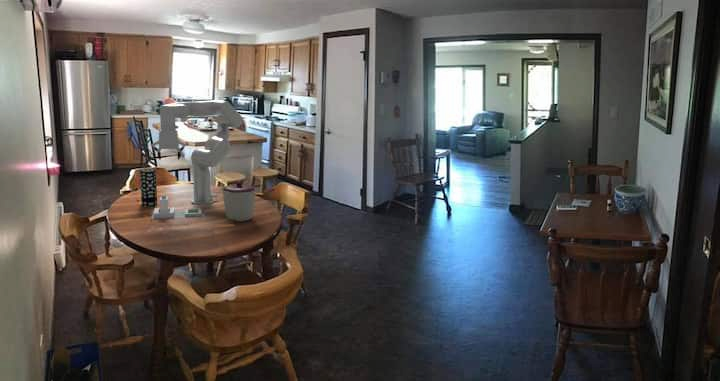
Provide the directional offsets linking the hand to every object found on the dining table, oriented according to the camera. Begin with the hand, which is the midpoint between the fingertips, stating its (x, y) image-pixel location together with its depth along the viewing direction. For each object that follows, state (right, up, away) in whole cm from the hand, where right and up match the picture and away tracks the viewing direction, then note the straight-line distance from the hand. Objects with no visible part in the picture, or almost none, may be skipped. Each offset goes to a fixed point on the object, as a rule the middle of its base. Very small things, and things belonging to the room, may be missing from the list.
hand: (169, 159), depth 290 cm
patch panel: (+8, -31, -8) cm, 33 cm away
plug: (+1, -30, -10) cm, 32 cm away
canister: (+40, -32, -7) cm, 52 cm away
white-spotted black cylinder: (-16, -25, +14) cm, 33 cm away
